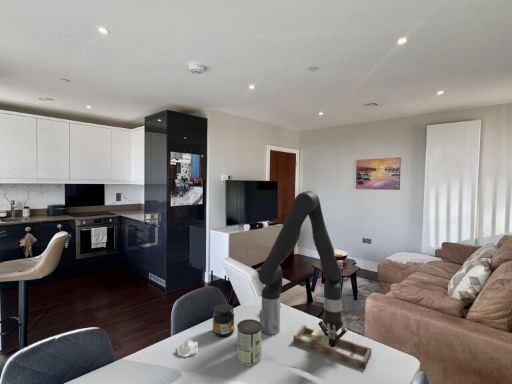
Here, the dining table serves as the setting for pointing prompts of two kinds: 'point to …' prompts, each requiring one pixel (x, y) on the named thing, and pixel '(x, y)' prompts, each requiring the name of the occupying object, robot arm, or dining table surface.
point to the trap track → (304, 339)
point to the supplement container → (223, 320)
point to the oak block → (319, 338)
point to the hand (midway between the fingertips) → (332, 346)
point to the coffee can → (249, 342)
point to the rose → (187, 348)
